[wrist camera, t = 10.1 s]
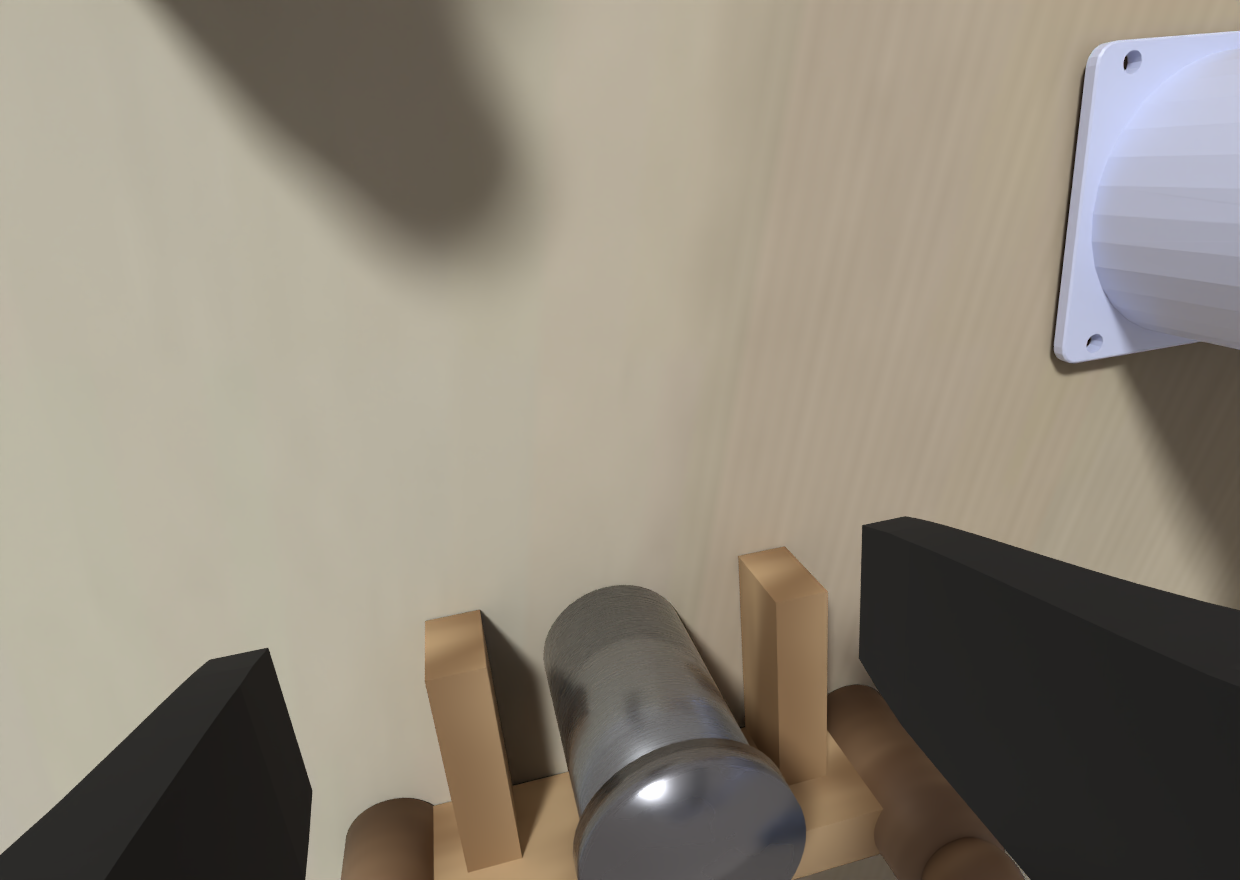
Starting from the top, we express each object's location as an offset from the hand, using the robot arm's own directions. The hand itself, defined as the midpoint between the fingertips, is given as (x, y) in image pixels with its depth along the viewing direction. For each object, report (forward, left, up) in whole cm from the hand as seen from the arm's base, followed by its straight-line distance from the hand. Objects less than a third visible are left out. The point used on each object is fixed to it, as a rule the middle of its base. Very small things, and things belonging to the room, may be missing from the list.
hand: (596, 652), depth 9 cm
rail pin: (-2, +7, -10) cm, 12 cm away
